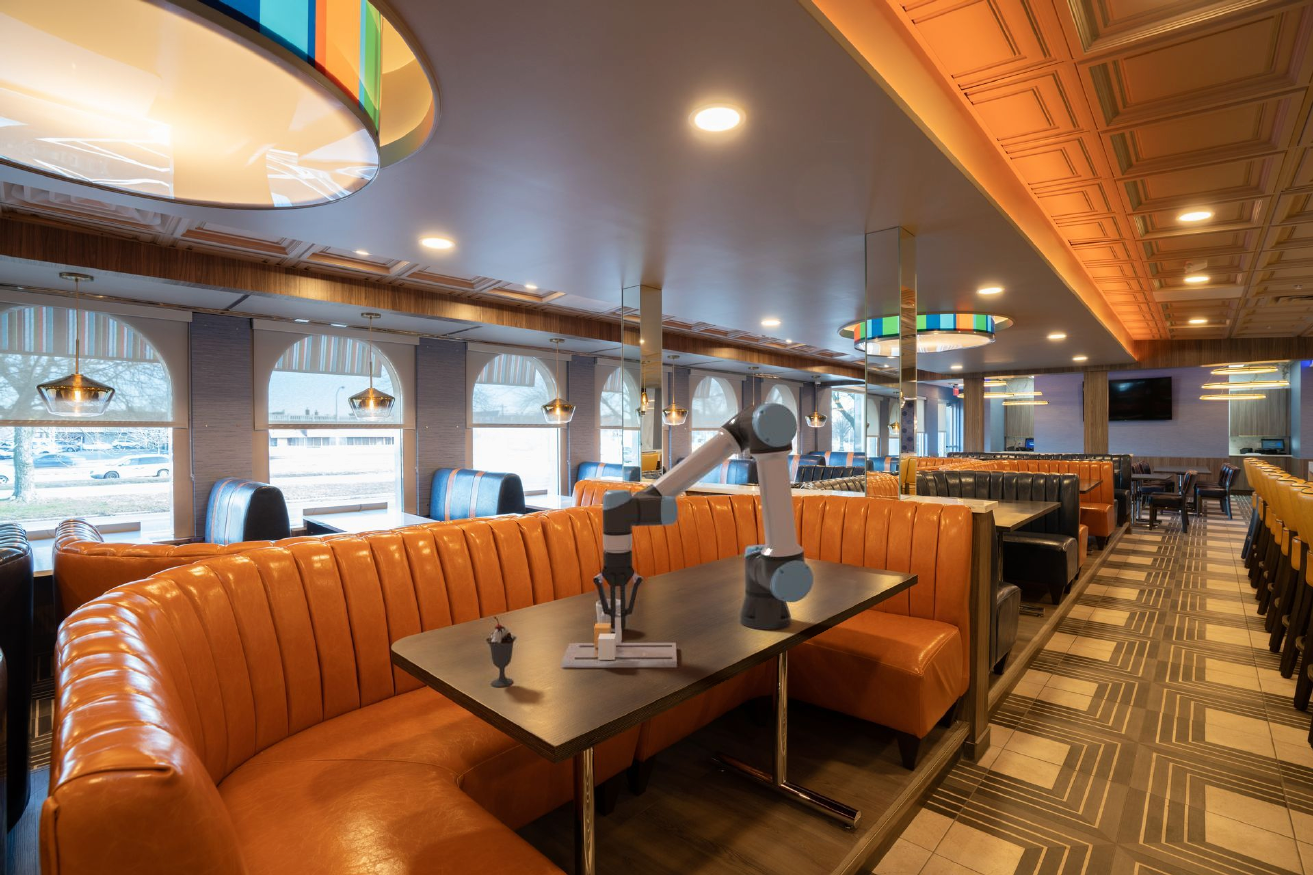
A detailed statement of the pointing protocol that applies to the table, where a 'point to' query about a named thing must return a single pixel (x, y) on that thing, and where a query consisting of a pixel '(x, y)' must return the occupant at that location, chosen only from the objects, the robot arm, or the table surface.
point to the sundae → (501, 652)
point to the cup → (604, 617)
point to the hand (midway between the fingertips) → (618, 640)
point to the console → (621, 655)
